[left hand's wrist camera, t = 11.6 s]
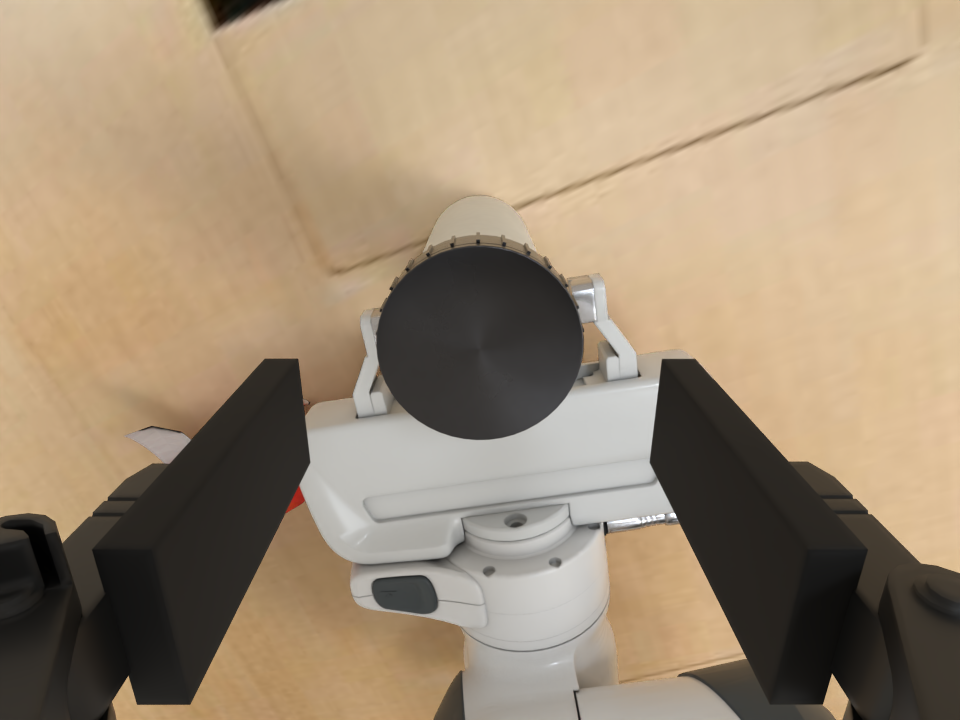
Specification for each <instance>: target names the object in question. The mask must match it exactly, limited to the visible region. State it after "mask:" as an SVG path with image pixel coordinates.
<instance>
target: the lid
mask: <svg viewBox="0 0 960 720" xmlns="http://www.w3.org/2000/svg"><path fill="white" fill-rule="evenodd" d="M567 287H568V284H567V282H566V280H565V278H564V276H563V275H562V274H561V275H559V274H558V273H557V271H556V270H555V269H554V268H553V266H552V265H551V263H550V261H549V259H548V258H547V257H546V256H545V257H544V258H543V257H542V256H540V255H539V254H538V253H536V252H535V251H534V250H532V249H530V248H529V246H528V244H527V243H525V244H524V245H523V244H521V243H518V242H515V241H513V240H510V239H506V238H505V235H501V237H498V236H490V235H480V232H476V235H469V236H463V237H457V238H456V237H455V235H454V236H452V237H451V239H450V240H447V241H444V242H442V243H440V244H437V245H435V246H433V245H432V244H431V245H430V246H429V247H428V249H427V251H425V252H423V253H422V254H421V255H419V256H418V257H417V258H416V259H415V260H413V259H411V260H410V261H409V263H408V265H407V267H406V268H405V270H404V271H403V272H402V274H401V275H400V277H399V278H398V277H396V278H395V280H394V281H393V283H392V285H391V287H390V290H391V293H390V295H389V297H388V298H386V299H385V301H384V303H383V305H382V306H381V308H380V311H379V312H381V315H380V318H379V322H378V328H377V331H376V335H377V336H376V349H377V358H378V363H379V367H380V371H381V373H382V376H383V378H384V381H385V383H386V385H387V387H388V388H389V390H390V392H391V394H392V395H393V396H394V398H395V399H396V400H397V402H398V403H399V404H400V405H401V406H402V407H403V408H404V409H405V410H406V411H407V412H408V413H409V414H410V415H411V416H412V417H414V418H415V419H416V420H417V421H419V422H421V423H422V424H424V425H425V426H427V427H429V428H431V429H433V430H435V431H437V432H440V433H443V434H446V435H449V436H452V437H457V438H461V439H469V440H492V439H498V438H504V437H508V436H511V435H515V434H517V433H520V432H522V431H525V430H527V429H529V428H531V427H533V426H535V425H536V424H538V423H539V422H541V421H542V420H544V419H545V418H546V417H548V416H549V415H550V414H551V413H552V412H553V411H554V410H555V409H557V407H558V406H559V405H560V404H561V403H562V402H563V400H564V399H565V398H566V396H567V395H568V393H569V392H570V390H571V389H572V387H573V385H574V383H575V380H576V378H577V376H578V373H579V370H580V367H581V363H582V357H583V349H584V336H583V332H584V328H583V326H582V323H581V319H580V315H579V312H578V310H577V309H579V305H578V304H577V302H576V300H575V298H574V296H573V295H571V294H570V293H569V291H568V289H567Z"/></svg>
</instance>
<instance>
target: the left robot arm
mask: <svg viewBox="0 0 960 720" xmlns="http://www.w3.org/2000/svg"><path fill="white" fill-rule="evenodd" d="M310 463H311V462H310V454H309V445H308V437H307V429H306V420H305V412H304V404H303V395H302V387H301V379H300V370H299V362H298V359H264V360H263V361H262V362H261V364H260V365H259V366H258V367H257V368H256V369H255V370H254V371H253V372H252V374H251V375H250V376H249V377H248V378H247V379H246V380H245V381H244V382H243V383H242V385H241V386H240V387H239V388H238V389H237V390H236V391H235V392H234V393H233V394H232V396H231V397H230V398H229V399H228V400H227V401H226V402H225V403H224V404H223V405H222V407H221V408H220V409H219V410H218V411H217V412H216V413H215V414H214V415H213V416H212V418H211V419H210V420H209V421H208V422H207V423H206V424H205V425H204V426H203V427H202V429H201V430H200V431H199V432H198V433H197V434H196V435H195V436H194V437H193V439H192V440H191V441H190V442H189V443H188V444H187V445H186V446H185V447H184V448H183V450H182V451H181V452H180V453H179V454H178V455H177V456H176V457H175V458H174V459H173V461H172V462H171V463H170V464H151V465H149V466H148V467H146V468H144V469H143V470H141V471H139V472H137V473H136V474H134V475H132V476H131V477H129V478H127V479H126V480H125V481H124V482H123V483H122V484H121V485H120V486H119V487H118V488H117V489H116V490H115V491H114V492H113V493H112V494H111V495H110V496H109V497H108V501H104V502H103V503H102V504H101V505H100V506H99V507H98V508H97V509H96V510H95V511H94V512H93V516H92V517H88V518H87V519H86V520H85V521H84V522H83V523H82V524H81V525H80V526H79V527H78V528H77V529H76V530H75V531H74V532H73V533H72V534H71V535H70V536H69V537H68V538H67V539H66V540H65V541H64V542H63V543H62V542H61V539H60V535H59V532H58V529H57V526H56V523H55V521H53V520H52V519H50V518H49V517H47V516H46V515H39V514H30V513H27V514H19V515H10V516H4V517H1V518H0V720H116V715H115V711H114V707H113V704H112V700H113V699H114V697H115V696H116V694H117V693H118V691H119V689H120V688H121V686H122V685H123V683H124V682H125V680H126V678H127V677H128V675H129V678H130V682H131V685H132V689H133V692H134V695H135V699H136V702H137V705H190V704H191V702H192V700H193V698H194V696H195V694H196V692H197V690H198V688H199V686H200V684H201V682H202V680H203V678H204V676H205V674H206V672H207V670H208V668H209V666H210V664H211V662H212V660H213V658H214V656H215V654H216V652H217V650H218V648H219V646H220V644H221V642H222V640H223V638H224V636H225V634H226V632H227V630H228V628H229V626H230V624H231V622H232V620H233V617H234V615H235V613H236V611H237V609H238V607H239V605H240V603H241V601H242V599H243V597H244V595H245V593H246V591H247V589H248V587H249V585H250V583H251V581H252V579H253V577H254V575H255V573H256V571H257V569H258V567H259V565H260V563H261V561H262V559H263V557H264V555H265V553H266V551H267V549H268V547H269V545H270V543H271V541H272V539H273V537H274V535H275V533H276V531H277V529H278V527H279V525H280V523H281V521H282V519H283V517H284V515H285V513H286V511H287V509H288V507H289V505H290V503H291V501H292V499H293V497H294V495H295V493H296V491H297V489H298V487H299V485H300V483H301V481H302V479H303V477H304V475H305V473H306V471H307V469H308V467H309V465H310ZM649 463H650V465H651V467H652V469H653V471H654V473H655V475H656V477H657V479H658V481H659V483H660V485H661V487H662V489H663V491H664V493H665V495H666V497H667V499H668V501H669V503H670V505H671V507H672V509H673V511H674V513H675V515H676V517H677V519H678V521H679V523H680V525H681V527H682V529H683V531H684V533H685V535H686V537H687V539H688V541H689V543H690V545H691V547H692V549H693V551H694V553H695V555H696V557H697V559H698V561H699V563H700V565H701V567H702V569H703V571H704V573H705V575H706V577H707V579H708V581H709V583H710V585H711V587H712V589H713V591H714V593H715V595H716V597H717V599H718V601H719V603H720V605H721V607H722V609H723V611H724V613H725V615H726V617H727V620H728V622H729V624H730V626H731V628H732V630H733V632H734V634H735V636H736V638H737V640H738V642H739V644H740V646H741V648H742V650H743V652H744V654H745V656H746V658H747V660H748V662H749V664H750V666H751V668H752V670H753V672H754V674H755V676H756V678H757V680H758V682H759V684H760V686H761V688H762V690H763V692H764V694H765V696H766V698H767V700H768V702H769V704H770V705H823V702H824V699H825V695H826V692H827V689H828V685H829V682H830V678H831V675H832V674H833V675H834V677H835V678H836V680H837V681H838V683H839V685H840V686H841V688H842V689H843V691H844V692H845V694H846V696H847V697H848V699H849V701H848V704H847V707H846V711H845V714H844V717H843V720H960V573H957V572H954V571H951V570H948V569H945V568H942V567H939V566H934V565H927V564H921V563H920V562H919V561H918V560H917V559H916V558H915V557H914V556H913V555H912V554H911V553H910V552H909V551H908V550H907V549H906V548H905V547H904V546H903V545H902V544H901V543H900V542H899V541H898V540H897V539H896V538H895V537H894V536H893V535H892V534H891V533H890V532H889V531H888V530H887V529H886V528H885V527H884V526H883V525H882V524H881V523H880V522H879V521H878V520H877V519H876V518H875V517H874V516H873V515H872V514H868V510H867V509H866V508H865V507H864V506H863V505H862V504H861V503H860V502H859V501H858V500H857V499H853V495H852V494H851V493H850V492H849V491H848V490H847V489H846V488H845V487H844V486H843V485H842V484H841V483H840V482H839V481H838V480H837V479H836V478H835V477H833V476H832V475H830V474H828V473H826V472H825V471H823V470H821V469H820V468H818V467H816V466H814V465H813V464H811V463H809V462H788V461H787V459H786V458H785V457H784V456H783V455H782V454H781V453H780V452H779V451H778V450H777V448H776V447H775V446H774V445H773V444H772V443H771V442H770V441H769V440H768V439H767V437H766V436H765V435H764V434H763V433H762V432H761V431H760V430H759V429H758V427H757V426H756V425H755V424H754V423H753V422H752V421H751V420H750V419H749V418H748V416H747V415H746V414H745V413H744V412H743V411H742V410H741V409H740V408H739V407H738V405H737V404H736V403H735V402H734V401H733V400H732V399H731V398H730V397H729V396H728V394H727V393H726V392H725V391H724V390H723V389H722V388H721V387H720V386H719V385H718V383H717V382H716V381H715V380H714V379H713V378H712V377H711V376H710V375H709V374H708V372H707V371H706V370H705V369H704V368H703V367H702V366H701V365H700V364H699V362H698V361H697V360H696V359H662V362H661V370H660V379H659V387H658V395H657V404H656V412H655V420H654V429H653V437H652V445H651V454H650V462H649Z"/></svg>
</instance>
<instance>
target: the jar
mask: <svg viewBox="0 0 960 720" xmlns="http://www.w3.org/2000/svg"><path fill="white" fill-rule="evenodd" d="M476 232H480V235H490V236H498V237H501V235H505V238H506V239H510V240H513V241H515V242H518V243H521V244H523V245H524V244H525V243H527V244H528V246H529V248H530V249H532V250H534V251H535V252H536V253H537V251H536V248H535V246H534V244H533V242H532V239H531V237H530V235H529V232H528V230H527V228H526V226H525V223H524V221H523V220H522V218H521V217H520V215H519V214H518V213H517V212H516V211H515V210H514V209H513V208H512V207H511V206H510V205H508V204H507V203H505V202H504V201H502V200H499V199H497V198H494V197H490V196H482V195H480V196H470V197H466V198H463V199H461V200H458V201H456V202H455V203H453V204H452V205H450V206H449V207H448V208H447V209H445V211H444V212H443V213H442V214H441V215H440V217H439V218H438V220H437V221H436V223H435V225H434V228H433V230H432V232H431V234H430V237H429V239H428V241H427V244H426V246H425V248H424V250H423V252H425V251H427V249H428V247H429V246H430V245H431V244H432V245H433V246H435V245H437V244H440V243H442V242H444V241H447V240H450V239H451V237H452V236H454V235H455V237H456V238H457V237H463V236H469V235H476Z"/></svg>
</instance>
